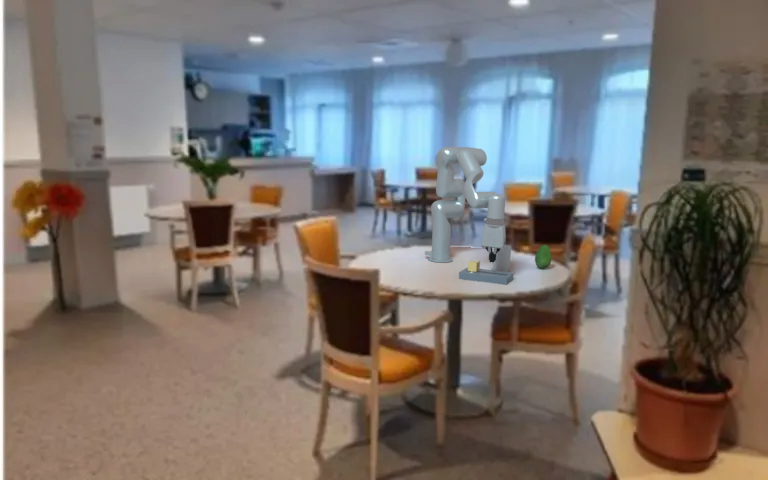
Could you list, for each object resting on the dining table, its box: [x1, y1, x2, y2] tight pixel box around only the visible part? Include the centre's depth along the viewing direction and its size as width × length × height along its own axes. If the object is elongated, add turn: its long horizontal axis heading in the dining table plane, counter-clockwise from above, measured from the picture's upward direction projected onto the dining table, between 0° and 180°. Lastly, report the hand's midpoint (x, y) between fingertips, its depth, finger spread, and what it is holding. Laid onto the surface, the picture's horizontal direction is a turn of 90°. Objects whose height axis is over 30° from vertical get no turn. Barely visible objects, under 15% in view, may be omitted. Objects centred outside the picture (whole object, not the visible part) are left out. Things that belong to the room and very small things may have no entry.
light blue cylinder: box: [492, 244, 512, 272], centre depth 283 cm, size 8×8×12 cm
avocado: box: [534, 244, 552, 270], centre depth 288 cm, size 8×8×12 cm
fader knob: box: [467, 260, 481, 272], centre depth 267 cm, size 4×5×4 cm
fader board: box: [458, 266, 514, 286], centre depth 265 cm, size 22×12×3 cm, turn 63°
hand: (492, 261), depth 263 cm, fingers closed
